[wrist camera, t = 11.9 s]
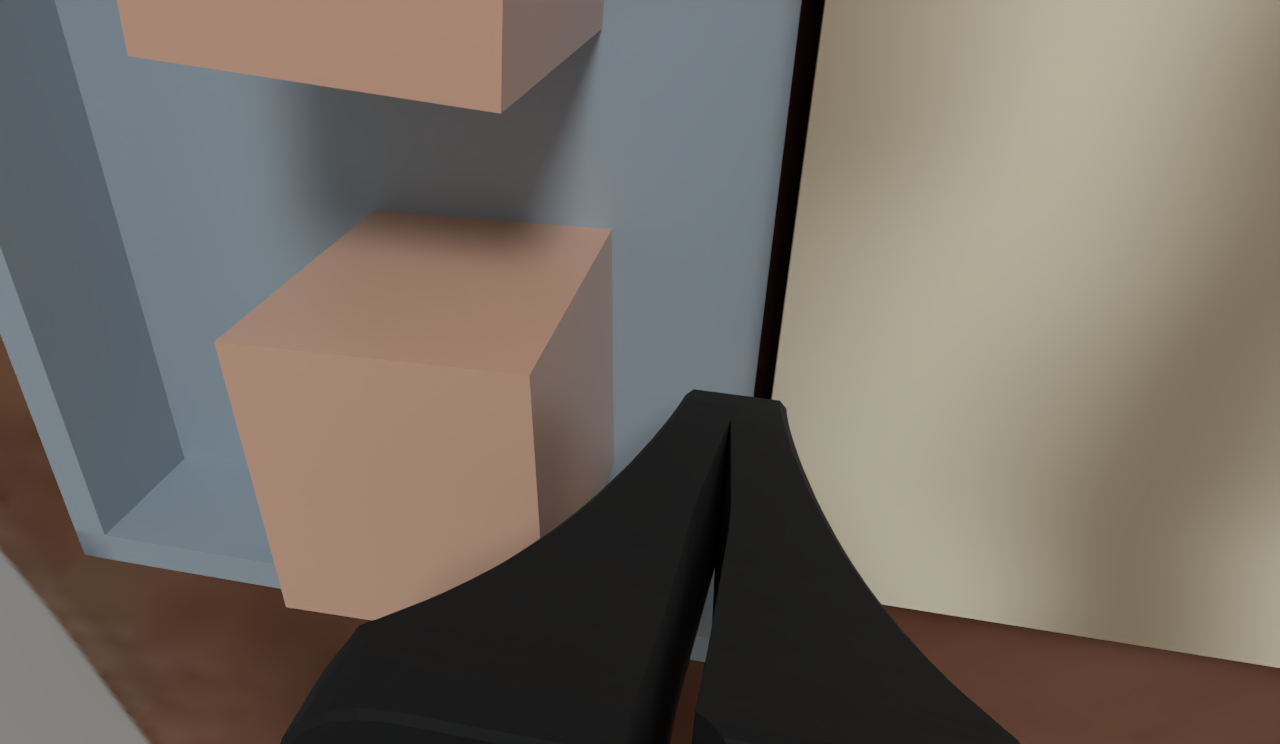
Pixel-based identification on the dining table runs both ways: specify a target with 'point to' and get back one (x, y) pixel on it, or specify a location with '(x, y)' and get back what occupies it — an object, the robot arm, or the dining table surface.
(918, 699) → the robot arm
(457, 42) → the wooden cube
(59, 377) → the tray
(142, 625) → the dining table surface
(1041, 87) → the board
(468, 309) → the wooden cube
